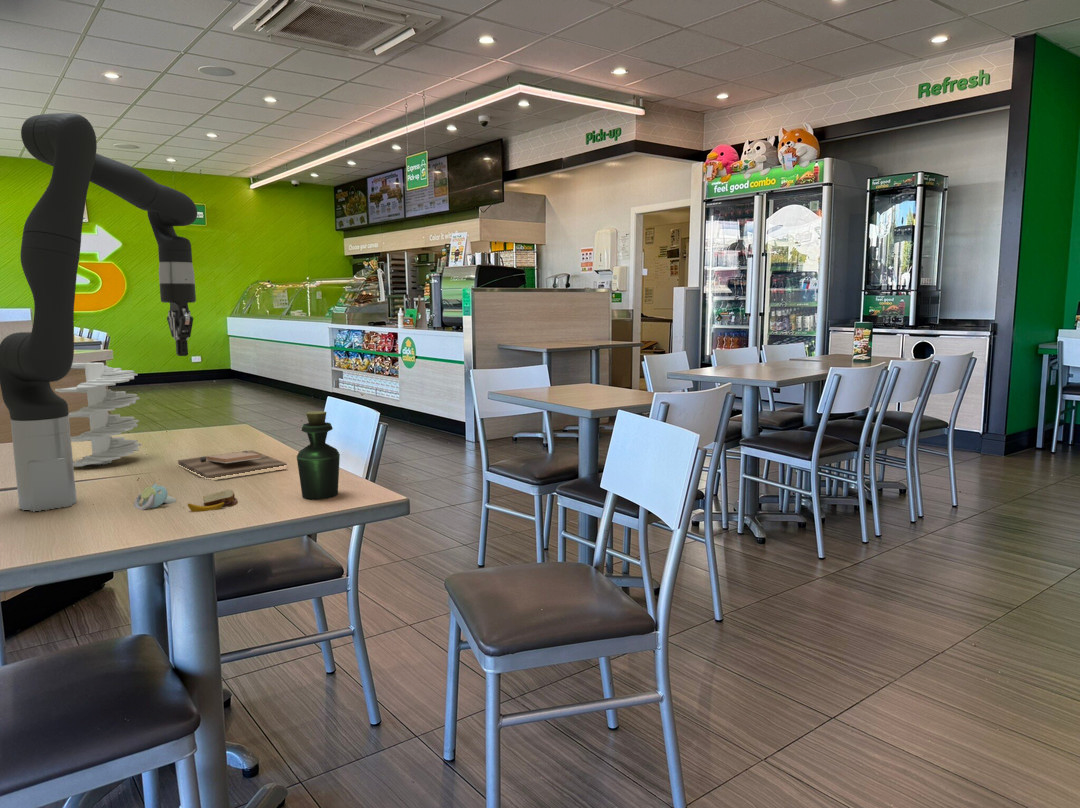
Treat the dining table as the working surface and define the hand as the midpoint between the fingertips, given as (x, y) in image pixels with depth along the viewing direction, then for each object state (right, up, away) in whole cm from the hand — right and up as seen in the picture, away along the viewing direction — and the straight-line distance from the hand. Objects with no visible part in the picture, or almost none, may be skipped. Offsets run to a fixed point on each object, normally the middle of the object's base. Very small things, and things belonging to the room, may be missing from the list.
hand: (182, 355), depth 176 cm
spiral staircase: (-24, -26, +8) cm, 37 cm away
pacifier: (+11, -33, -36) cm, 50 cm away
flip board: (+11, -27, +2) cm, 29 cm away
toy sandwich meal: (+23, -33, -36) cm, 54 cm away
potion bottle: (+42, -31, -30) cm, 60 cm away
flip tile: (+12, -24, 0) cm, 27 cm away
